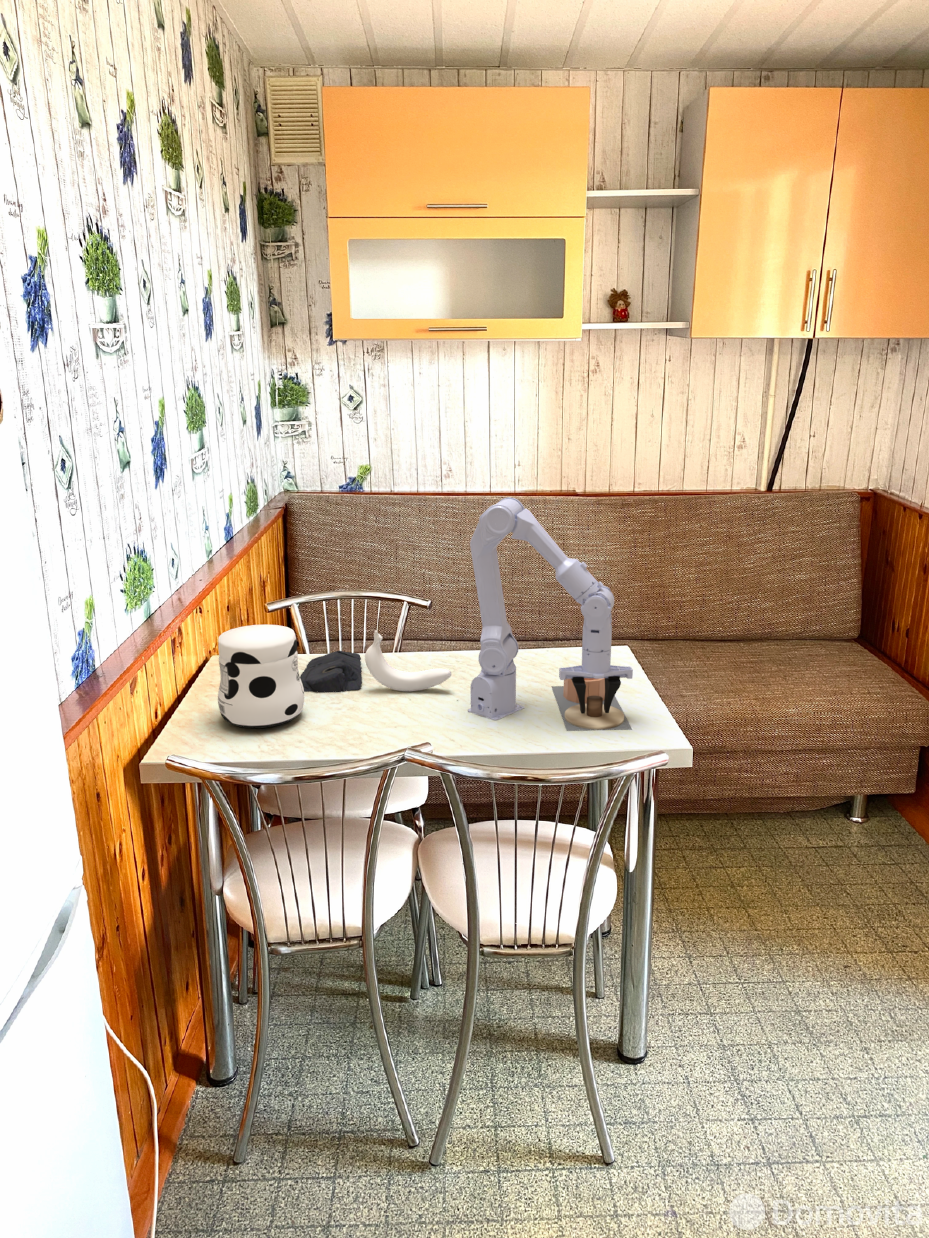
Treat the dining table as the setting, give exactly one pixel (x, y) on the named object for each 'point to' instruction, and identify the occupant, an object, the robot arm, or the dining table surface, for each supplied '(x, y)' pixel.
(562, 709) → the mat
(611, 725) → the lid
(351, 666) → the dark slate chunk
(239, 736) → the dining table surface
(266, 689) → the milk container
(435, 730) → the dining table surface
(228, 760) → the dining table surface
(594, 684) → the bowl
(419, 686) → the banana
